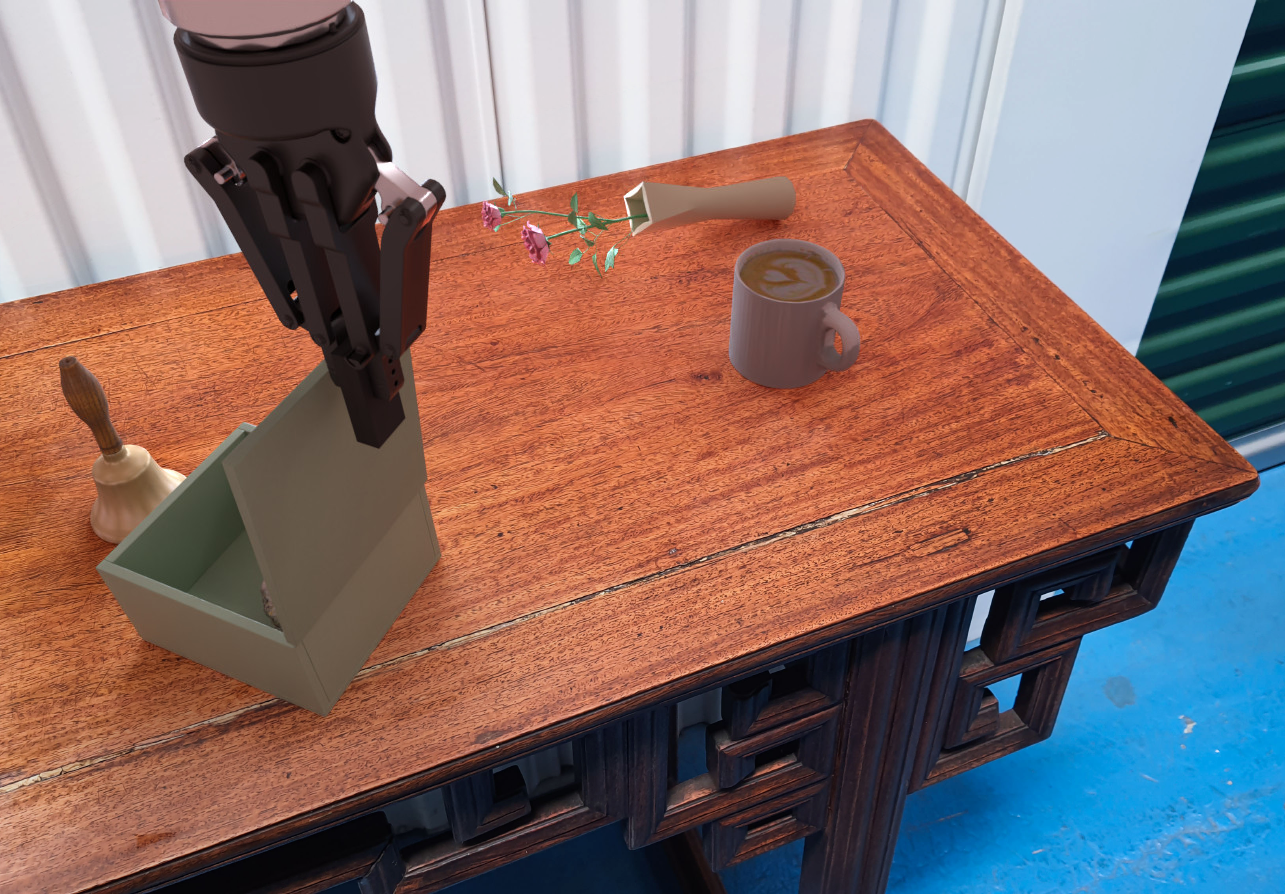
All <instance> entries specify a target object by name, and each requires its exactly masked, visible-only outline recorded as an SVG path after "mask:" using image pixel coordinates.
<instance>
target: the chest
mask: <svg viewBox="0 0 1285 894" xmlns="http://www.w3.org/2000/svg"><path fill="white" fill-rule="evenodd" d="M257 426H258V425H255V424H251V423H248V422H245V421H243V422H241V423H240V424H239V425H238V426H237V428H235V429H234V430H233V431H232V432H231V433H230V434H229V435H228V436H227V437H226V438H225V439H224V440H223V441H222V442H221V443H220V444H219V445H218V446H217V447H216V448H215V449H214V450H213V451H212V452H211V453H210V454H209V455H207V457H206V458H205V459H204V460H202V462H201V463H200V464H199V465H197V467H195V468H194V469H193V470H192V472H191V473H190V474H188V475H187V476H186V477H187V478H186V479H185V480H184V481H183V482H182V483H181V484H180V485H179V486H178V487H177V488H176V489H175V490H174V491H173V492H171V493H170V494H169V495H168V496H167V497H166V498H165V499H164V500H163V501H162V502H161V503H160V504H159V505H158V506H157V507H156V508H155V509H154V510H153V511H152V512H151V513H150V514H149V515H148V516H147V517H146V518H145V519H144V520H143V521H142V522H141V523H140V524H139V525H138V526H137V527H136V528H135V529H134V530H133V531H132V532H131V533H130V534H129V535H128V536H127V537H126V538H125V539H124V540H123V541H122V542H121V543H120V544H117V546H115V547H114V549H113V550H112V551H110V553H108V554H107V555H106V556H105V557H104V558H103V560H101V561H100V562H99V563H98V564H97V565H96V566H95V570H96V572H97V573H98V574H99V576H100V578H101V579H102V581H103V582H104V584H105V585H106V587H107V588H108V589H109V591H110V592H111V594H112V596H113V597H114V599H115V600H116V602H117V604H118V605H119V607H120V608H121V609H122V611H123V612H124V614H125V616H126V617H127V618H128V620H129V622H130V624H131V625H132V626H133V628H134V629H135V631H136V632H137V634H138V635H139V636H140V638H141V640H142V641H145V642H148V643H150V644H152V645H155V646H157V647H160V648H161V649H164V650H166V651H168V652H171V653H173V654H176V655H178V656H180V657H183V658H185V659H187V660H189V661H192V662H194V663H197V664H198V665H201V666H204V667H206V668H208V669H211V670H213V671H215V672H217V673H219V674H223V675H225V676H227V677H229V678H232V679H233V680H237V681H239V682H241V683H244V684H245V685H248V686H251V687H253V688H255V689H258V690H259V691H262V692H265V693H266V694H269V695H271V696H274V697H276V698H278V699H281V700H283V701H285V702H288V703H291V704H293V705H295V706H297V707H300V708H302V709H305V710H306V711H309V712H311V713H313V714H316V715H318V716H321V717H322V718H327V717H328V715H329V714H330V712H331V711H332V710H333V709H334V707H335V706H336V704H337V703H338V701H339V700H340V699H341V697H342V696H343V695H344V693H345V691H347V689H348V687H349V686H350V685H351V683H352V682H353V680H354V679H355V678H356V676H357V675H358V674H359V672H360V671H361V669H362V668H363V666H364V665H365V664H366V662H367V661H368V659H369V658H370V657H371V656H372V654H373V653H374V651H375V650H376V648H378V646H379V645H380V643H381V642H382V640H383V639H384V637H385V636H386V634H387V633H388V632H389V630H390V629H391V627H392V626H393V625H394V623H396V621H397V619H398V618H399V617H400V615H401V613H402V612H403V611H404V610H405V608H406V607H407V605H408V604H409V602H410V601H411V600H412V598H413V597H414V596H415V594H416V593H417V591H418V590H419V589H420V587H421V586H422V584H423V583H424V582H425V580H426V579H427V577H428V576H429V575H430V573H431V572H432V571H433V569H434V567H436V565H437V563H438V562H439V561H440V560H441V558H442V551H441V547H440V543H439V538H438V535H437V530H436V527H435V522H434V517H433V513H432V509H431V505H430V502H429V497H428V494H427V489H426V486H425V484H424V485H423V486H422V488H421V489H420V490H419V492H418V493H417V494H416V495H415V497H414V498H413V499H412V501H411V502H410V503H409V504H408V506H407V507H406V508H405V509H404V511H403V512H402V513H401V515H400V516H399V517H398V518H397V520H396V521H395V522H394V523H393V525H392V526H391V527H390V529H389V530H388V531H387V532H386V534H385V535H384V536H383V538H382V539H381V540H380V541H379V543H378V544H377V545H376V546H375V548H374V549H373V550H372V552H371V553H370V554H369V555H368V557H367V558H366V559H365V561H364V562H363V563H362V564H361V566H360V567H359V568H358V569H357V571H356V572H355V573H354V575H353V576H352V577H351V578H350V580H349V581H348V582H347V583H346V585H345V586H344V587H343V589H342V590H341V591H340V592H339V594H338V595H337V596H336V598H335V599H334V600H333V601H332V603H331V604H330V605H329V606H328V608H327V609H326V610H325V612H324V613H323V614H322V615H321V617H320V618H319V619H318V621H317V622H316V623H315V624H314V626H313V627H312V628H311V629H310V631H309V632H308V633H307V635H306V636H305V637H304V638H303V640H302V641H301V642H300V643H299V645H298V646H297V647H296V646H294V645H292V644H289V643H287V642H286V639H285V636H284V633H283V632H281V631H278V630H276V629H274V628H273V626H272V624H271V619H270V618H269V617H267V616H266V614H265V612H264V611H263V609H264V605H263V601H262V593H261V592H260V591H261V586H262V583H263V581H264V578H263V575H262V572H261V570H260V567H259V564H258V561H257V559H256V556H255V553H254V550H253V548H252V545H251V542H250V539H249V537H248V534H247V531H246V528H245V526H244V523H243V520H242V517H241V514H240V512H239V509H238V506H237V503H236V501H235V498H234V495H233V492H232V490H231V487H230V484H229V481H228V479H227V476H226V473H225V470H224V468H223V465H222V461H223V460H224V459H225V458H226V457H227V456H228V455H229V454H230V453H231V452H232V451H233V450H234V449H235V448H236V447H237V446H238V445H239V444H240V443H241V442H242V441H243V440H244V439H245V438H246V437H247V436H248V435H249V434H250V433H251V432H252V431H253V430H254V429H255V428H256V427H257Z"/></svg>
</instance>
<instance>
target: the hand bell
mask: <svg viewBox="0 0 1285 894" xmlns="http://www.w3.org/2000/svg"><path fill="white" fill-rule="evenodd" d="M58 367H59V376H60V387H61V392H62V394H63V397H64V398H65V401H66V403H67V404H68V406H69V407H70V408H71V410H72V412H73V414H75V415H76V416H77V418H78V419H80V420H81V421H82V422H83V423H85V424H86V426H87V427H88V428H89V429H90V431H91V433H92V434H93V437H94V440H95V441H96V444H97V445H98V448H99V451H100V452H101V453H100V455H99V456H98V457H97V458H96V459H95V461H94V462H93V465H92V467H91V476H92V479H93V482H94V485H95V487H96V491H97V497H96V498H95V500H94V502H93V504H92V506H91V510H90V518H89V521H90V526H91V527H90V528H92V531H93V532H94V534H95V535H96V536H97V537H98V538H100V539H101V540H103V541H105V542H107V543H110V544H115V545H119V544H120V543H121V542H122V541H123V540H124V539H125V538H126V537H127V536H128V535H129V534H130V533H131V532H132V531H133V530H134V529H135V528H136V527H137V526H138V525H139V524H140V523H141V522H142V521H143V520H144V519H145V518H146V517H147V516H148V515H149V514H150V513H151V512H152V511H153V510H154V509H155V508H156V507H157V506H158V505H159V504H160V503H161V502H162V501H163V500H164V499H165V498H166V497H167V496H168V495H169V494H170V493H171V492H173V491H174V490H175V489H176V488H177V487H178V486H179V485H180V484H181V483H182V482H183V481H184V480H185V479H186V478H187V477H188V476H186V475H184V474H182V473H180V472H178V471H176V470H173V469H170V468H163V467H161V465H160V464H158V463H157V462H156V460H155V459H154V457H152V455H151V454H150V452H149V451H148V450H147V449H146V448H144V447H143V446H141V445H136V444H124V441H123V440H122V438H121V437H120V434H119V432H118V431H117V429H116V428H115V425H113V423H112V420H111V416H110V408H109V407H110V406H109V402H108V398H107V394H106V392H105V390H104V388H103V385H102V384H101V382H100V381H99V379H98V378H97V377H96V376H95V374H94V373H93V372H91V371H90V369H88V368H87V367H86V366H85V365H83V364H82V362H80V360H79V359H78V358H77V357H76V356H72V355H69V356H65V357H63V358H61V359H60V360H59V362H58Z"/></svg>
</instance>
